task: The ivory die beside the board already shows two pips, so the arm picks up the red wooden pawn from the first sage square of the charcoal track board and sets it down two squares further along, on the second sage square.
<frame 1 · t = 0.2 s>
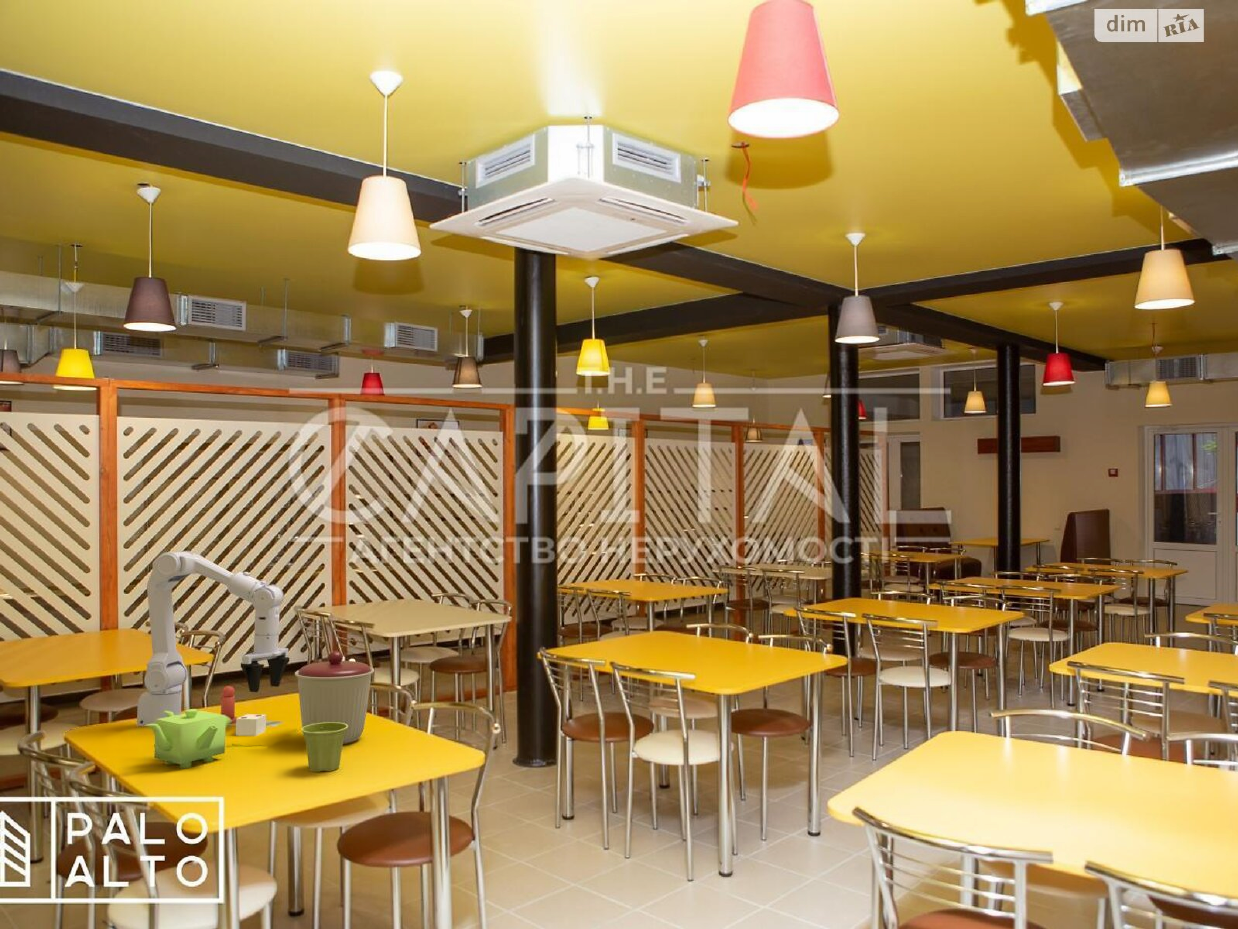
hand: (264, 689, 226), 10 cm above the table, tool pointing down, fingers open, 7 cm apart
die: (250, 737, 218), on the table
board: (237, 727, 228), on the table
kettle: (186, 763, 196), on the table
canister: (333, 741, 215), on the table
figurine: (337, 712, 247), on the table
plant pot: (323, 769, 192), on the table
pawn: (227, 722, 229), point 1 cm above the table, touching board
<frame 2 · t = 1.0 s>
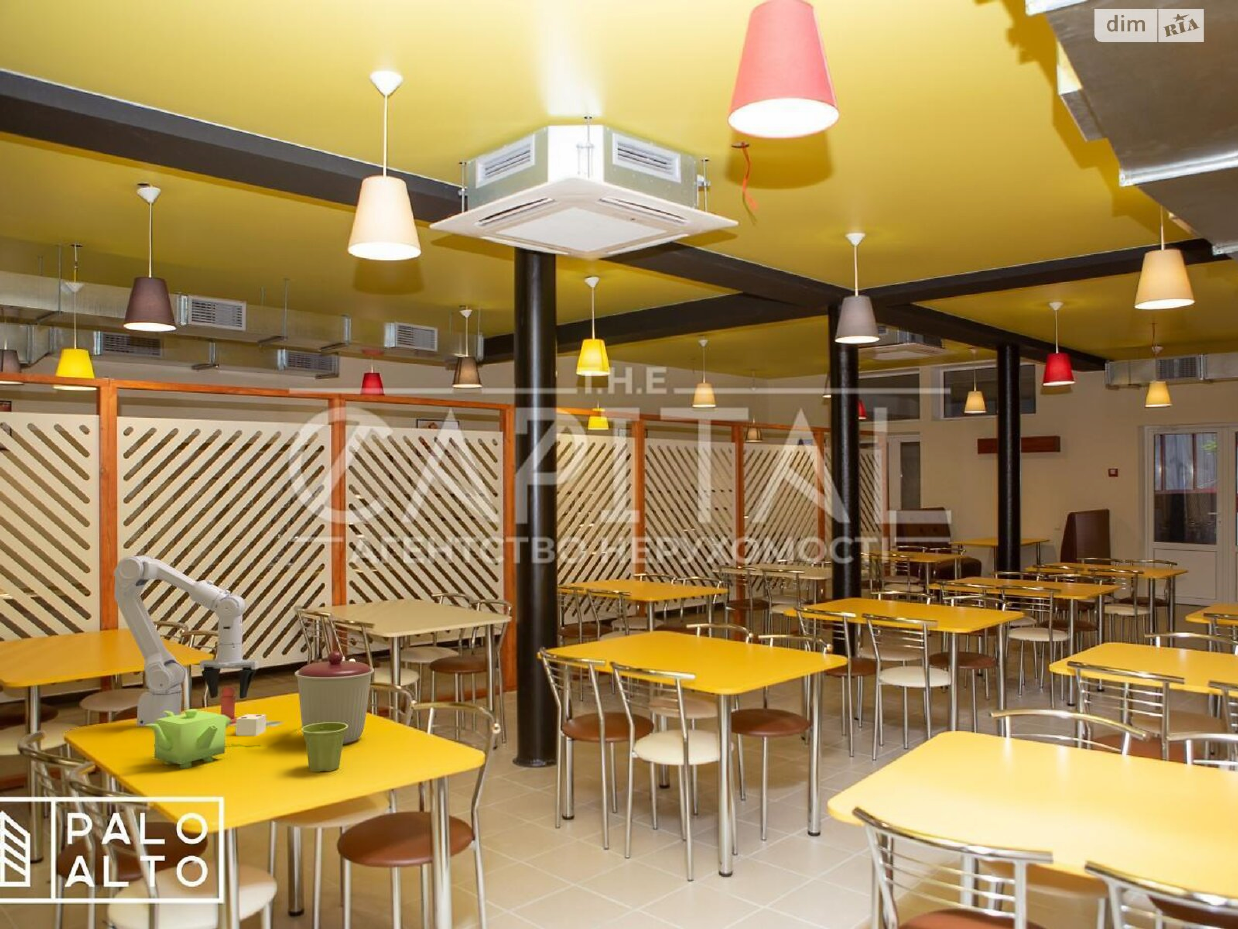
hand: (228, 697, 229), 7 cm above the table, tool pointing down, fingers open, 7 cm apart
nothing on the table moved.
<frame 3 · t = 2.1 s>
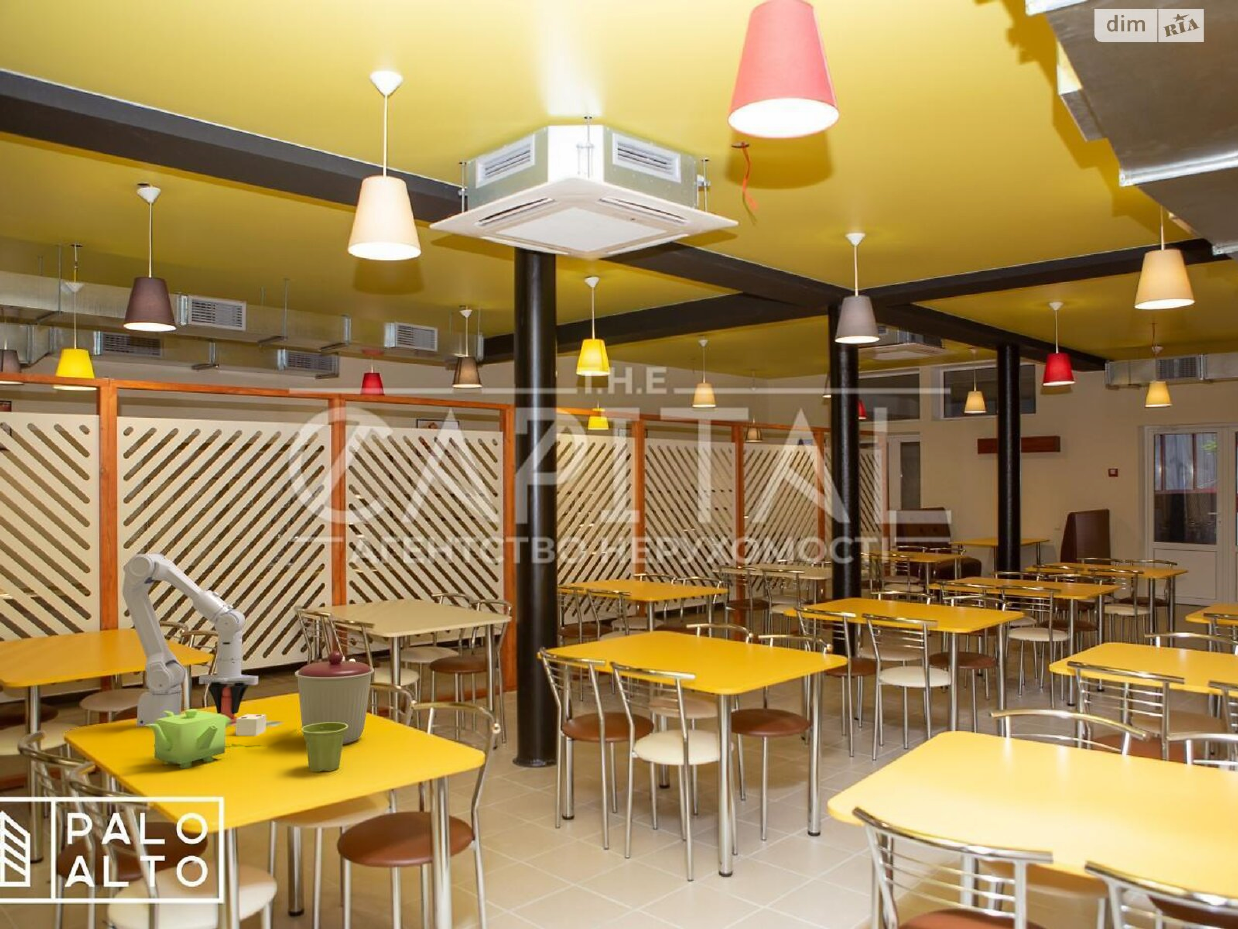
hand: (227, 713, 229), 3 cm above the table, tool pointing down, fingers closed on pawn, 3 cm apart
pawn: (227, 722, 229), point 1 cm above the table, touching board, gripper
everything else where it was.
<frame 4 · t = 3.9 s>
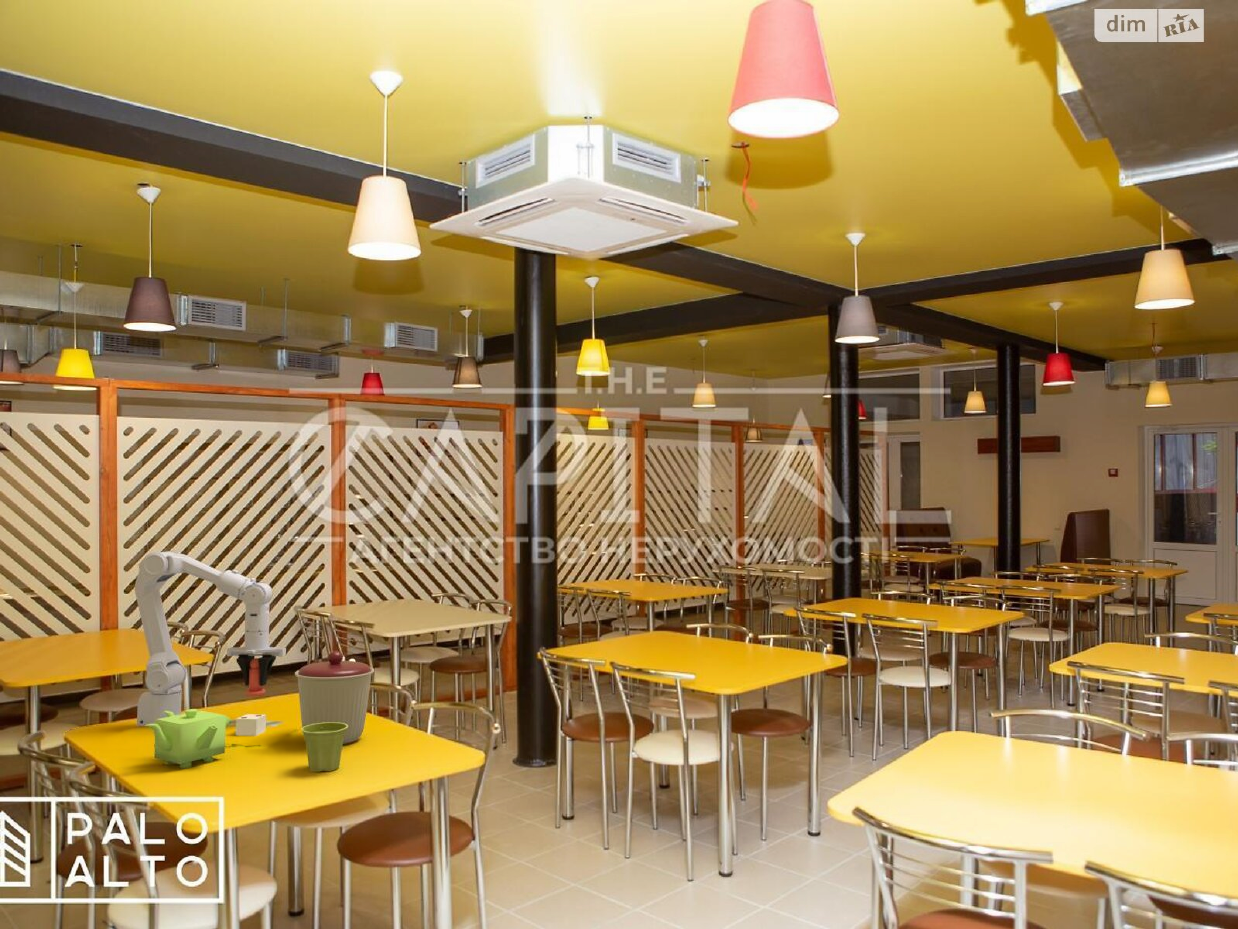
hand: (255, 685, 229), 11 cm above the table, tool pointing down, fingers closed on pawn, 3 cm apart
pawn: (255, 694, 229), point 8 cm above the table, touching gripper
everything else where it was.
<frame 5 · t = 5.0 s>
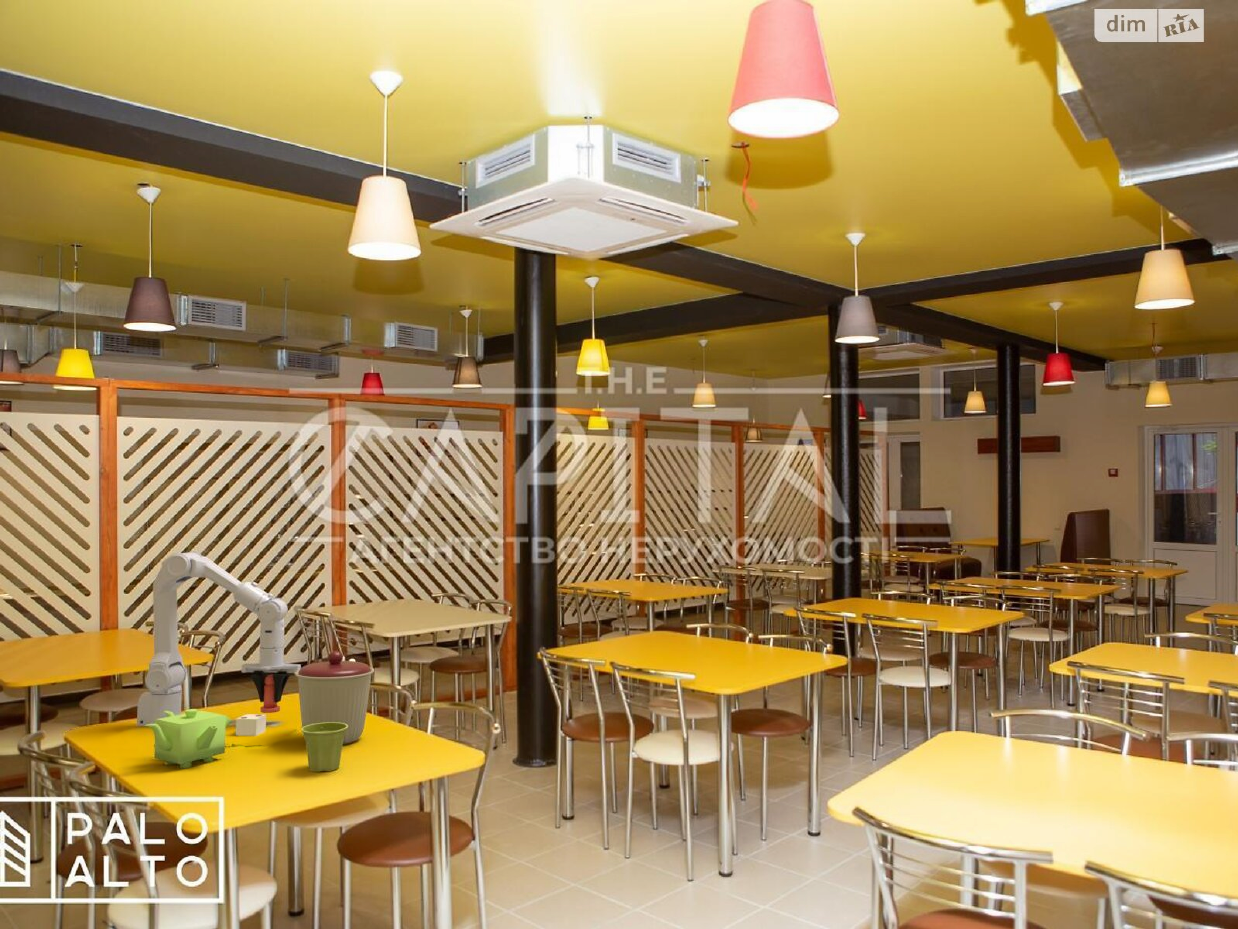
hand: (270, 701, 228), 6 cm above the table, tool pointing down, fingers closed on pawn, 3 cm apart
pawn: (270, 711, 228), point 4 cm above the table, touching gripper
everything else where it was.
when the fingers open (4 cm above the table, at t = 5.7 s): pawn stays where it is, resting on board.
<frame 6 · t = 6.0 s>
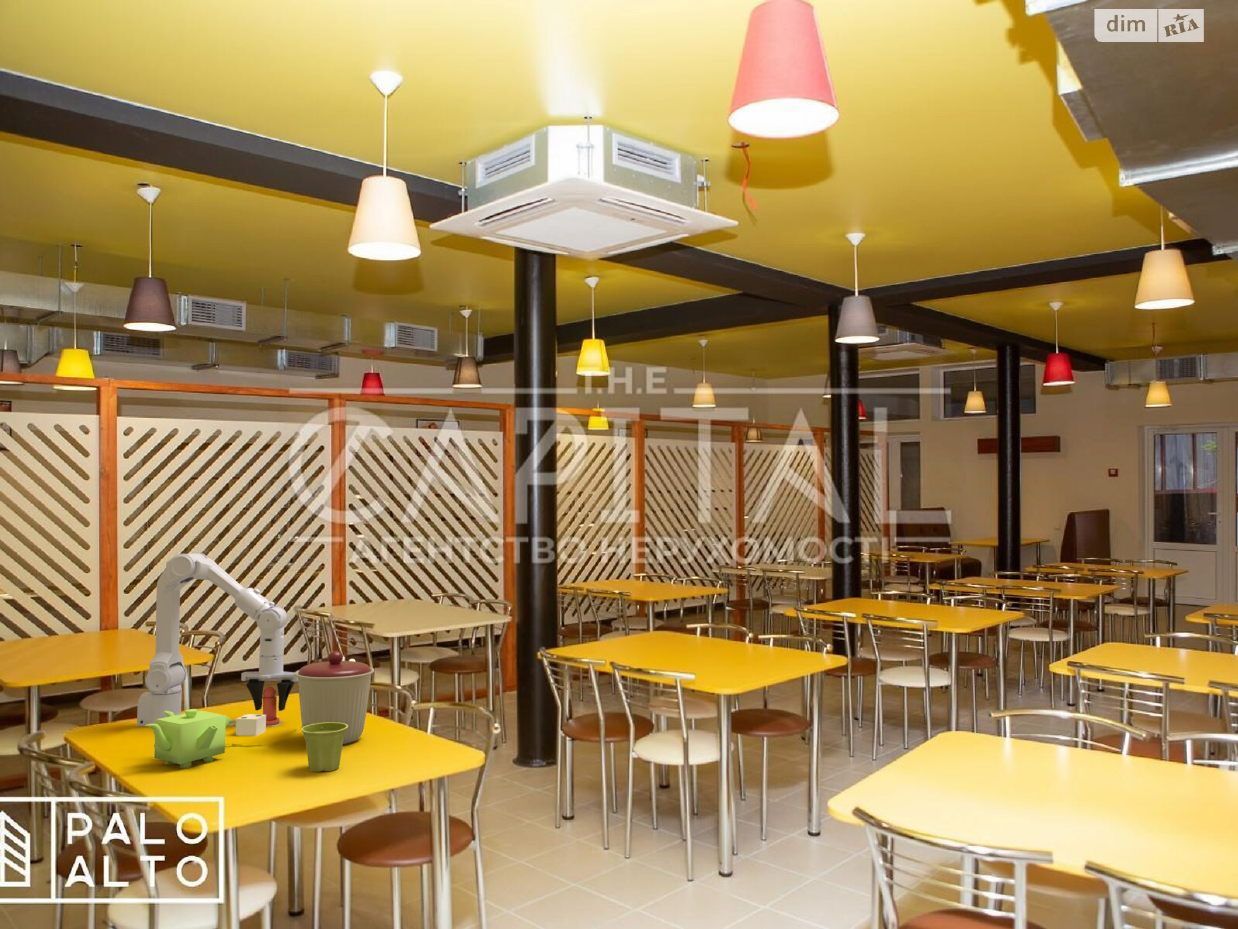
hand: (270, 710, 228), 4 cm above the table, tool pointing down, fingers open, 5 cm apart
pawn: (269, 723, 228), point 1 cm above the table, touching board
everything else where it was.
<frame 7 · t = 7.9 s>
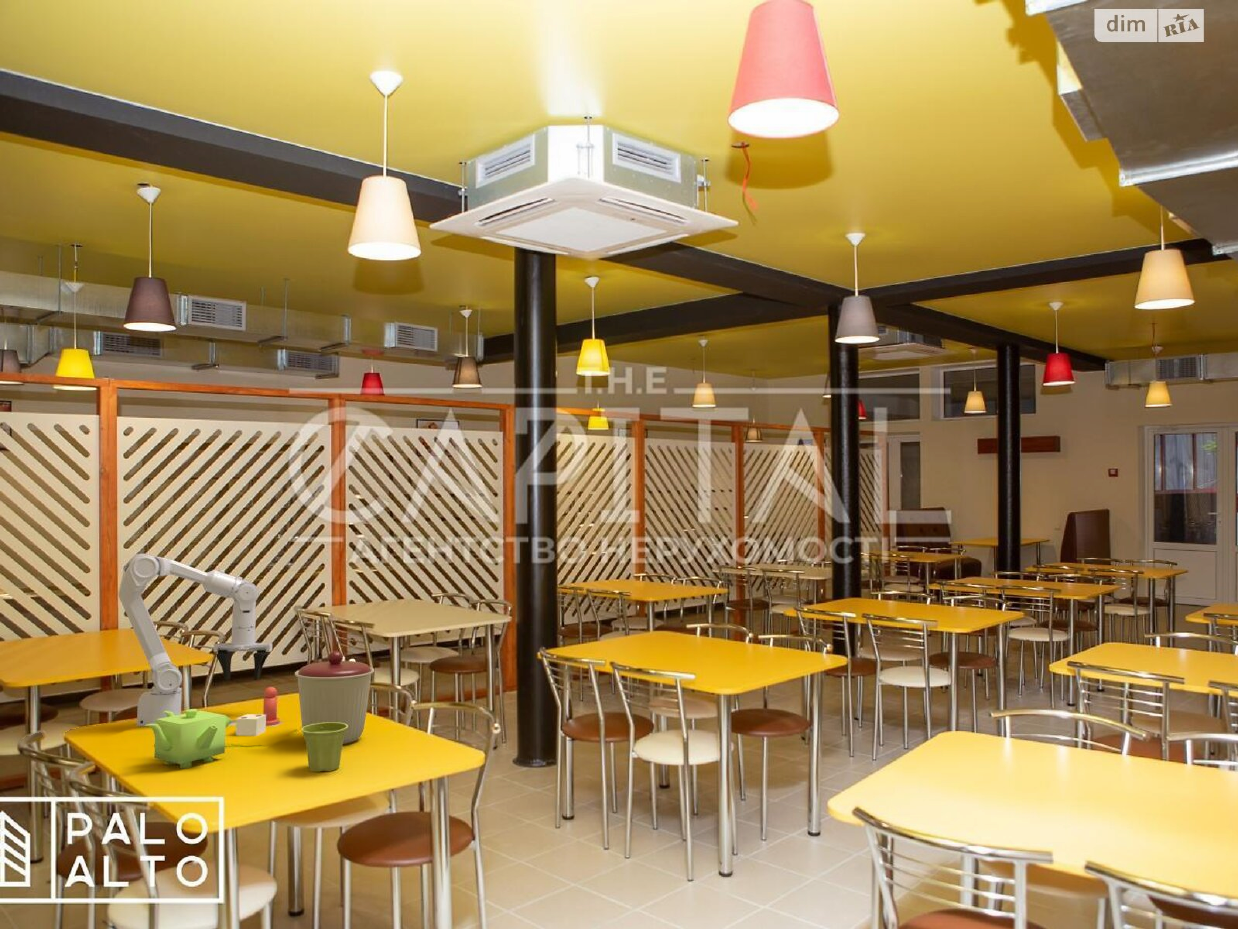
hand: (242, 679, 237), 10 cm above the table, tool pointing down, fingers open, 7 cm apart
nothing on the table moved.
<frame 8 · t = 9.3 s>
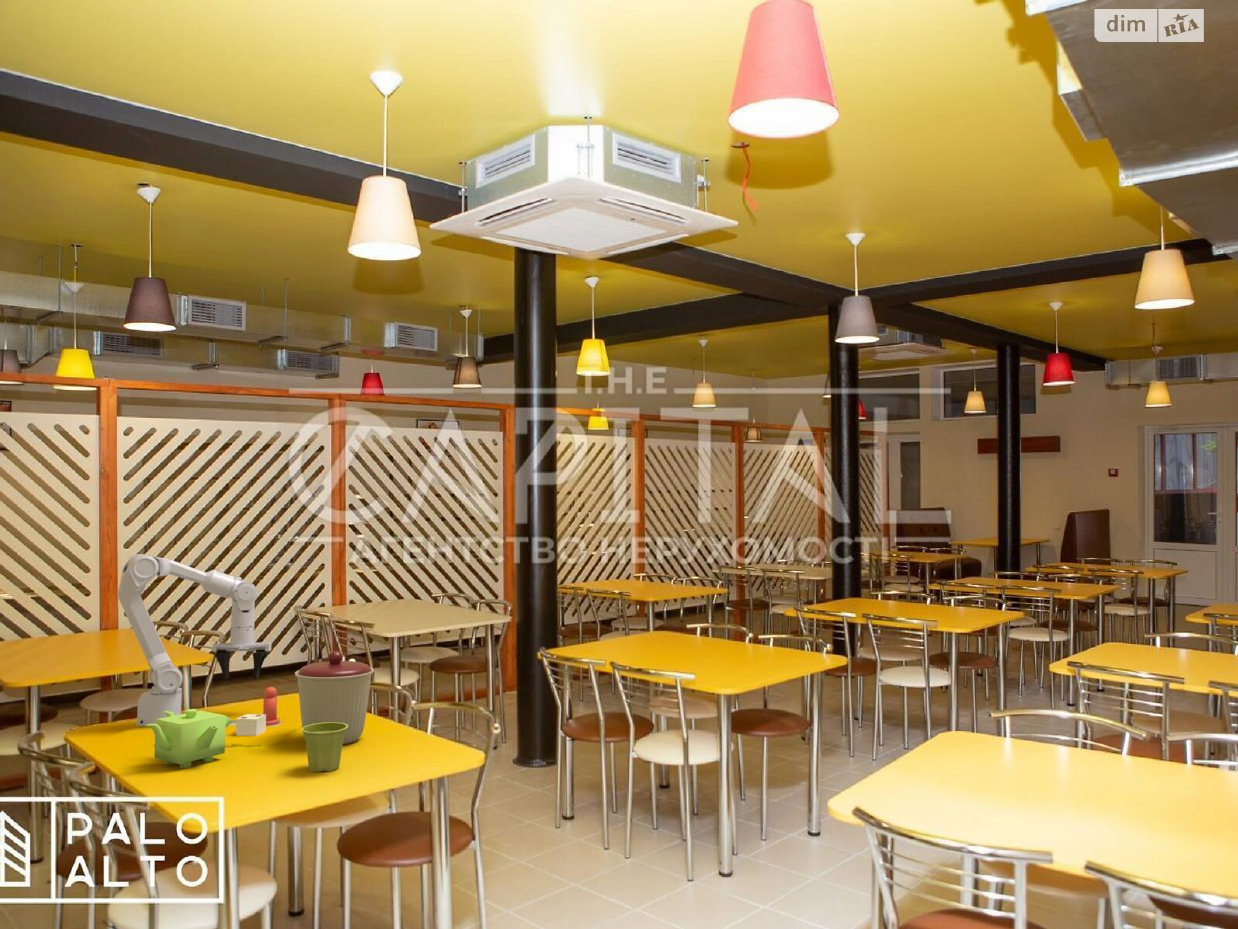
hand: (241, 679, 238), 10 cm above the table, tool pointing down, fingers open, 7 cm apart
nothing on the table moved.
at the end: pawn 0.0 cm from the target spot, point 1.0 cm above the table; pawn tilted 0°; the gripper is holding nothing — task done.
